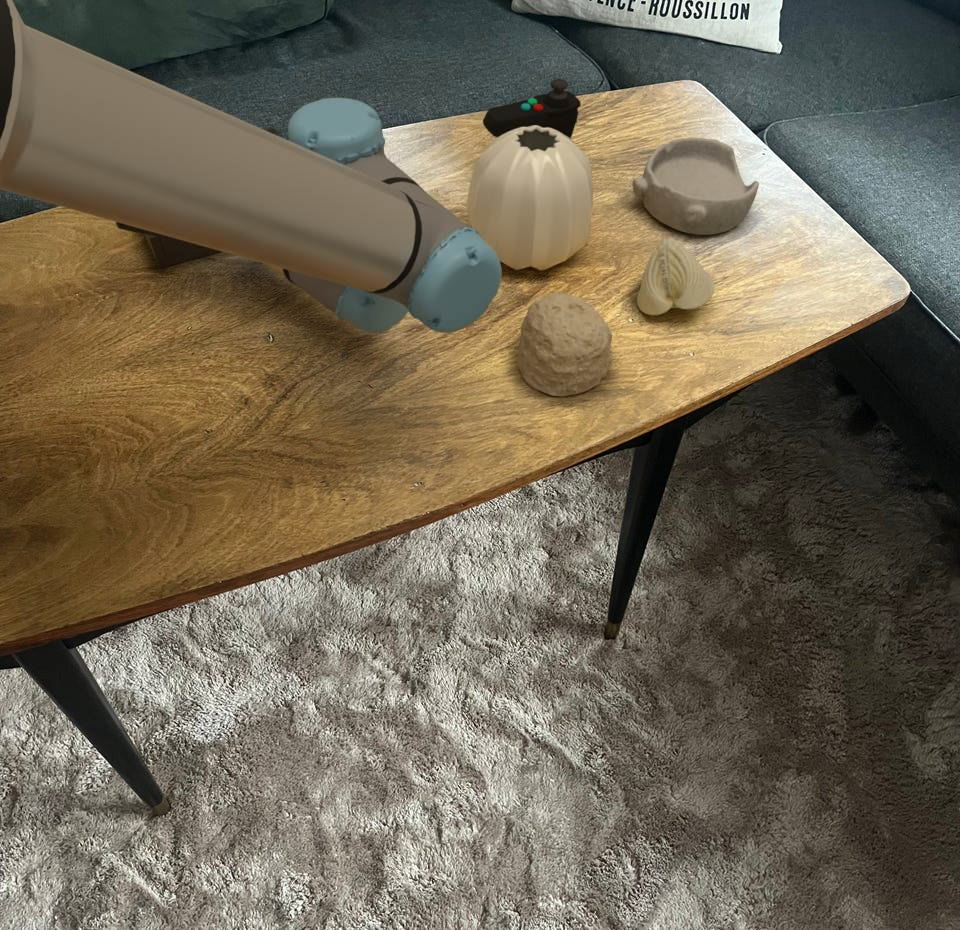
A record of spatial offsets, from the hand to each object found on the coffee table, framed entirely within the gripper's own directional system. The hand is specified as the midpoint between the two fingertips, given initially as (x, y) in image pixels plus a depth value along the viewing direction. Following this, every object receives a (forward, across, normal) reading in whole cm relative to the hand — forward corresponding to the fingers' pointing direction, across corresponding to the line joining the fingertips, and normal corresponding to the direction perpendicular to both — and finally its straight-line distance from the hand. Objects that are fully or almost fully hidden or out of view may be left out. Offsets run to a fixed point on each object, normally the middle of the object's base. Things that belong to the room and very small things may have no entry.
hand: (156, 147), depth 89 cm
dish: (-42, +45, -9) cm, 62 cm away
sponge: (-47, +12, -9) cm, 50 cm away
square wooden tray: (-3, 0, -9) cm, 10 cm away
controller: (-22, +38, -9) cm, 44 cm away
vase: (-32, +25, -9) cm, 42 cm away
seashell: (-50, +28, -9) cm, 58 cm away
